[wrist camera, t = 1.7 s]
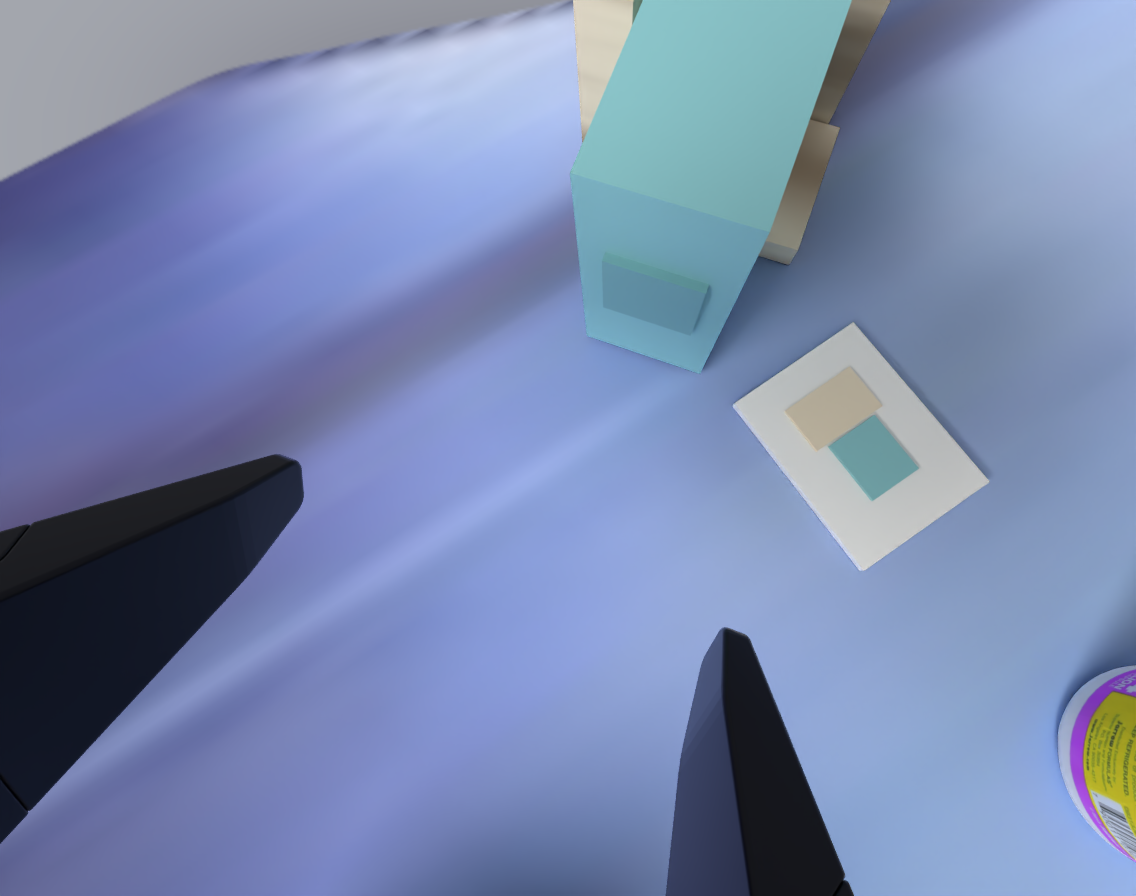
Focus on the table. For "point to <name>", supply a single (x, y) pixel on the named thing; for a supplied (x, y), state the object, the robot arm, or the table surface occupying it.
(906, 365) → the table surface
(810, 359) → the card
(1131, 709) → the supplement bottle
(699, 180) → the teal block
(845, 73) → the maple dock
